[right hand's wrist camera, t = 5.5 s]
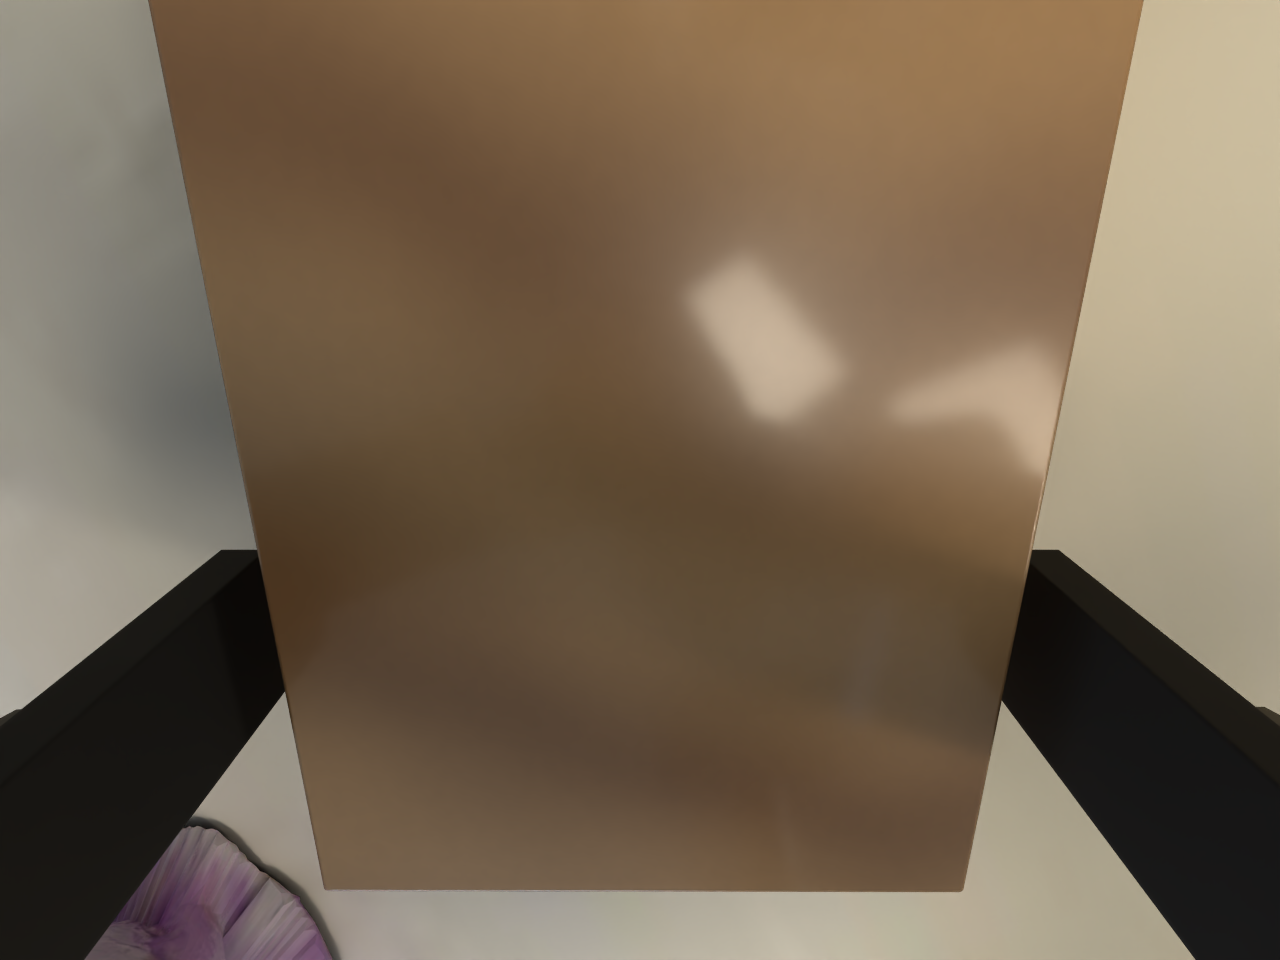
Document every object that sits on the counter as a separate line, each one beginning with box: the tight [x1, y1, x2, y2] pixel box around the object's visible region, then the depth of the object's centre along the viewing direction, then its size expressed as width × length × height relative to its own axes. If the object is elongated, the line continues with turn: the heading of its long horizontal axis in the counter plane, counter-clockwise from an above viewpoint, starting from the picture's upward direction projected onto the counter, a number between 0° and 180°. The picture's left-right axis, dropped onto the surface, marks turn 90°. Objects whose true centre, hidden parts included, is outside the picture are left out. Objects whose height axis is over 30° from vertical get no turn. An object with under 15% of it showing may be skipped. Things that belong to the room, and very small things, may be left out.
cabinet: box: [148, 0, 1144, 892], centre depth 12 cm, size 21×10×8 cm, turn 0°
